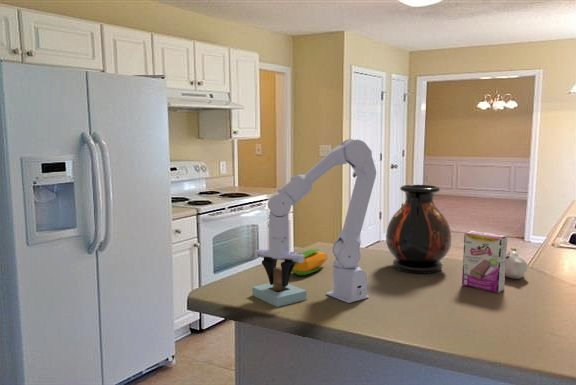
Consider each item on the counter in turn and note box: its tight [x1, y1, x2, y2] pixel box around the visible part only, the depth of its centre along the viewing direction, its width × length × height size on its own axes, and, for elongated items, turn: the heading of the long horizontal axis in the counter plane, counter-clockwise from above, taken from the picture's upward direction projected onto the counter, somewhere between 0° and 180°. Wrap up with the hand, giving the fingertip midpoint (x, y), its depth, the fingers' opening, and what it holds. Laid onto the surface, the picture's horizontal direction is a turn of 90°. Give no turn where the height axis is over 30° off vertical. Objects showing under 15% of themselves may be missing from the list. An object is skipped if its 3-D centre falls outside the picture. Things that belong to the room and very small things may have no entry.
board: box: [251, 282, 307, 308], centre depth 142 cm, size 12×10×2 cm
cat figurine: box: [505, 247, 529, 280], centre depth 162 cm, size 10×8×15 cm
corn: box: [291, 248, 328, 277], centre depth 168 cm, size 7×8×20 cm
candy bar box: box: [461, 230, 508, 294], centre depth 150 cm, size 11×5×16 cm, turn 47°
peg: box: [273, 266, 285, 292], centre depth 142 cm, size 3×3×7 cm
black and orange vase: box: [385, 184, 452, 274], centre depth 171 cm, size 22×22×28 cm
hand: (279, 284), depth 142 cm, fingers closed on peg, 3 cm apart
